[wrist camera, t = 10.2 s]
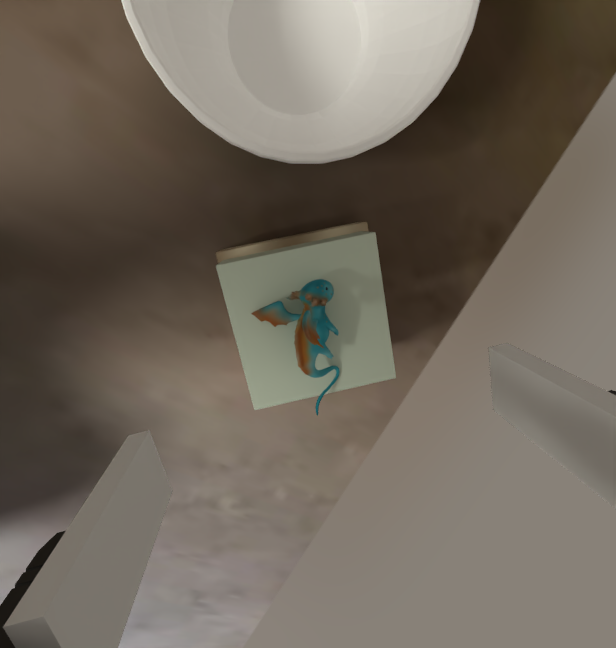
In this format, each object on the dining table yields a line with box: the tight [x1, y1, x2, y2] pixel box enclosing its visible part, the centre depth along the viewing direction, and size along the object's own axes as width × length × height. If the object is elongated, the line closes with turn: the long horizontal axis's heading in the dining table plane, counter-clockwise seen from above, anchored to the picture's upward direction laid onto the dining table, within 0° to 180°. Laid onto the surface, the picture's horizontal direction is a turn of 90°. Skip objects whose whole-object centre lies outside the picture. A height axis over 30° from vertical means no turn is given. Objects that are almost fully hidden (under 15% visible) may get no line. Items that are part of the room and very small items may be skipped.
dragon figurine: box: [251, 279, 340, 415], centre depth 25 cm, size 6×7×8 cm
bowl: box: [121, 0, 480, 164], centre depth 23 cm, size 20×20×10 cm
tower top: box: [216, 231, 396, 410], centre depth 28 cm, size 11×11×4 cm
